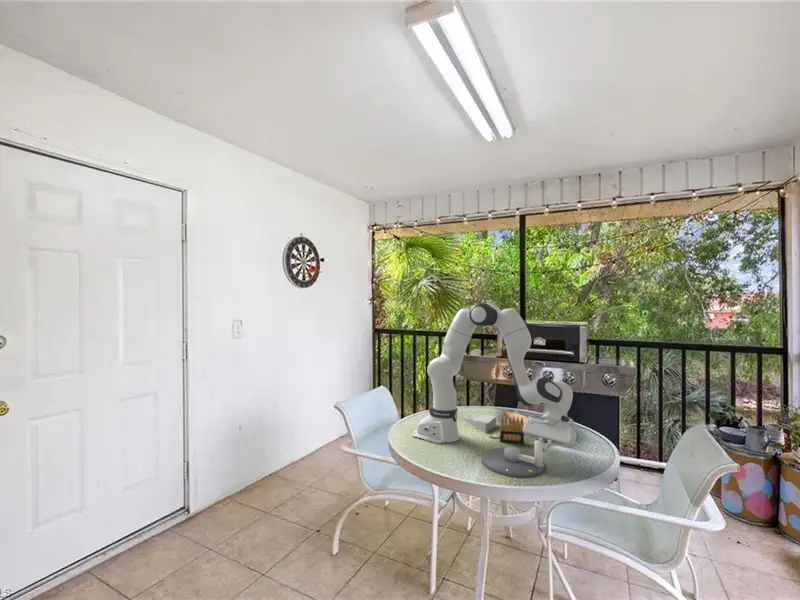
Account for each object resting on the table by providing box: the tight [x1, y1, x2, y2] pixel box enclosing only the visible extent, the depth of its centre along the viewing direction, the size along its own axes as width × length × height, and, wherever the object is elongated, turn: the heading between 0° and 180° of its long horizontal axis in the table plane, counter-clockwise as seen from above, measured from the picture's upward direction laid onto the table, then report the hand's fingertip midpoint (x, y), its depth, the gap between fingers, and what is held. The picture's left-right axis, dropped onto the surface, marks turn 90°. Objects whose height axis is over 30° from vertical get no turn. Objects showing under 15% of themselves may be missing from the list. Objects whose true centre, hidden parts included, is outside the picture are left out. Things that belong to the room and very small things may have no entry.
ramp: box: [461, 413, 497, 434], centre depth 200 cm, size 28×16×5 cm, turn 3°
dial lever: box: [504, 439, 544, 467], centre depth 148 cm, size 15×6×9 cm, turn 52°
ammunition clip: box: [499, 415, 525, 445], centre depth 174 cm, size 11×2×12 cm, turn 76°
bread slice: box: [505, 411, 529, 426], centre depth 206 cm, size 18×18×4 cm
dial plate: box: [481, 447, 545, 478], centre depth 150 cm, size 24×24×2 cm
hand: (542, 450), depth 145 cm, fingers closed, pressing on dial lever
